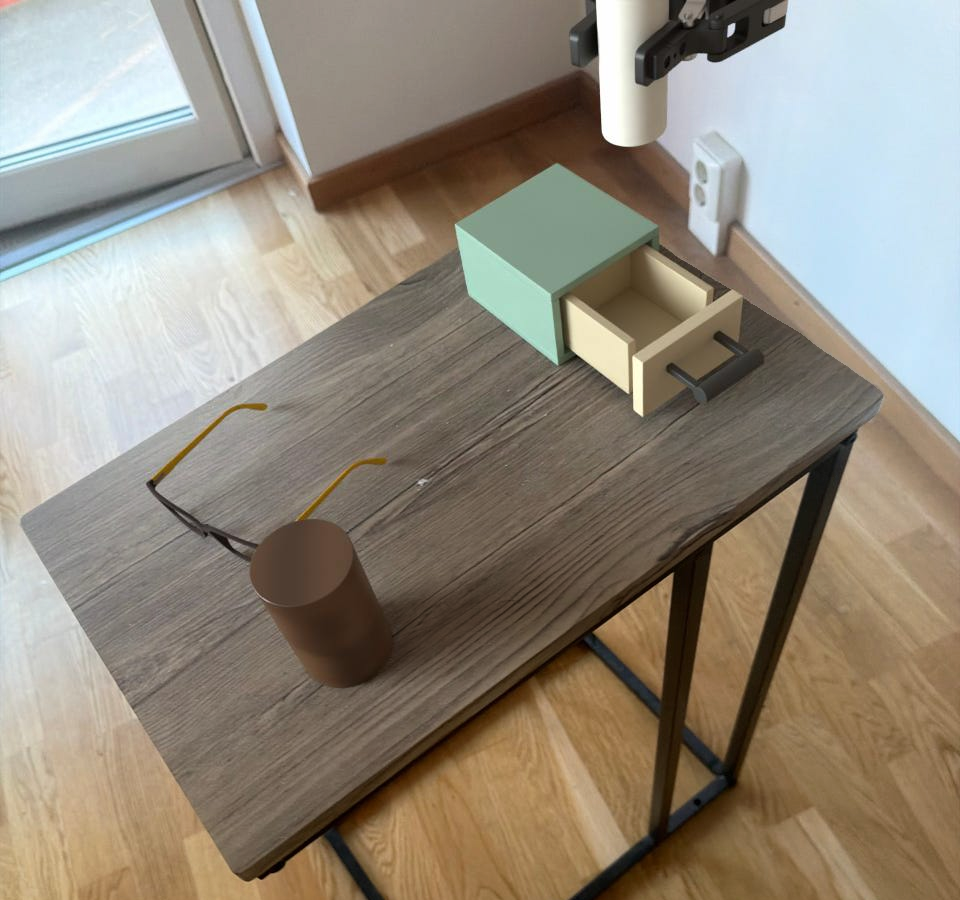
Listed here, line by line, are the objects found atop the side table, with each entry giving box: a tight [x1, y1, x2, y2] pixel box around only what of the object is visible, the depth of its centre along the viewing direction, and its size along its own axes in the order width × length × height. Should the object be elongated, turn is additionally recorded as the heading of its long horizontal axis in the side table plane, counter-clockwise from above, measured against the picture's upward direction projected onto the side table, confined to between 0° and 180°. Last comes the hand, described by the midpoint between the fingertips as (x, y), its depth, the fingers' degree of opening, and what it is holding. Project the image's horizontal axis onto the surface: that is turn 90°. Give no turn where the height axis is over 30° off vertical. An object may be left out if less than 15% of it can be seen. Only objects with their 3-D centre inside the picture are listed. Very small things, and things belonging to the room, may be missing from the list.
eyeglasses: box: [145, 402, 388, 564], centre depth 77 cm, size 14×14×4 cm
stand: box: [248, 518, 393, 689], centre depth 65 cm, size 7×7×11 cm
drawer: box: [559, 244, 766, 418], centre depth 76 cm, size 17×10×6 cm, turn 36°
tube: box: [596, 0, 669, 148], centre depth 59 cm, size 4×4×11 cm
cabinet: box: [454, 162, 660, 367], centre depth 83 cm, size 14×12×8 cm
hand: (607, 60), depth 58 cm, fingers closed on tube, 4 cm apart
